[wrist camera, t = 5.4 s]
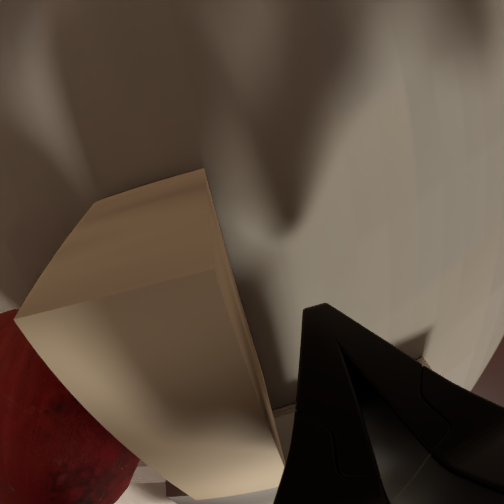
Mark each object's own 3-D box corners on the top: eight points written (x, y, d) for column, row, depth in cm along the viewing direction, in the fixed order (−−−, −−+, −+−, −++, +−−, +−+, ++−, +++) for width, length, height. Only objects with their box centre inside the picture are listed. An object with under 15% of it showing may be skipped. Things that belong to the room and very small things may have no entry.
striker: (300, 428, 14) (324, 506, 10) (206, 449, 14) (216, 527, 10) (243, 157, 8) (301, 245, 4) (64, 212, 7) (-25, 328, 3)
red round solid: (133, 247, 9) (74, 566, 2) (166, 378, 11) (175, 580, 4) (-17, 262, 8) (-129, 453, 1) (41, 377, 11) (5, 543, 4)
